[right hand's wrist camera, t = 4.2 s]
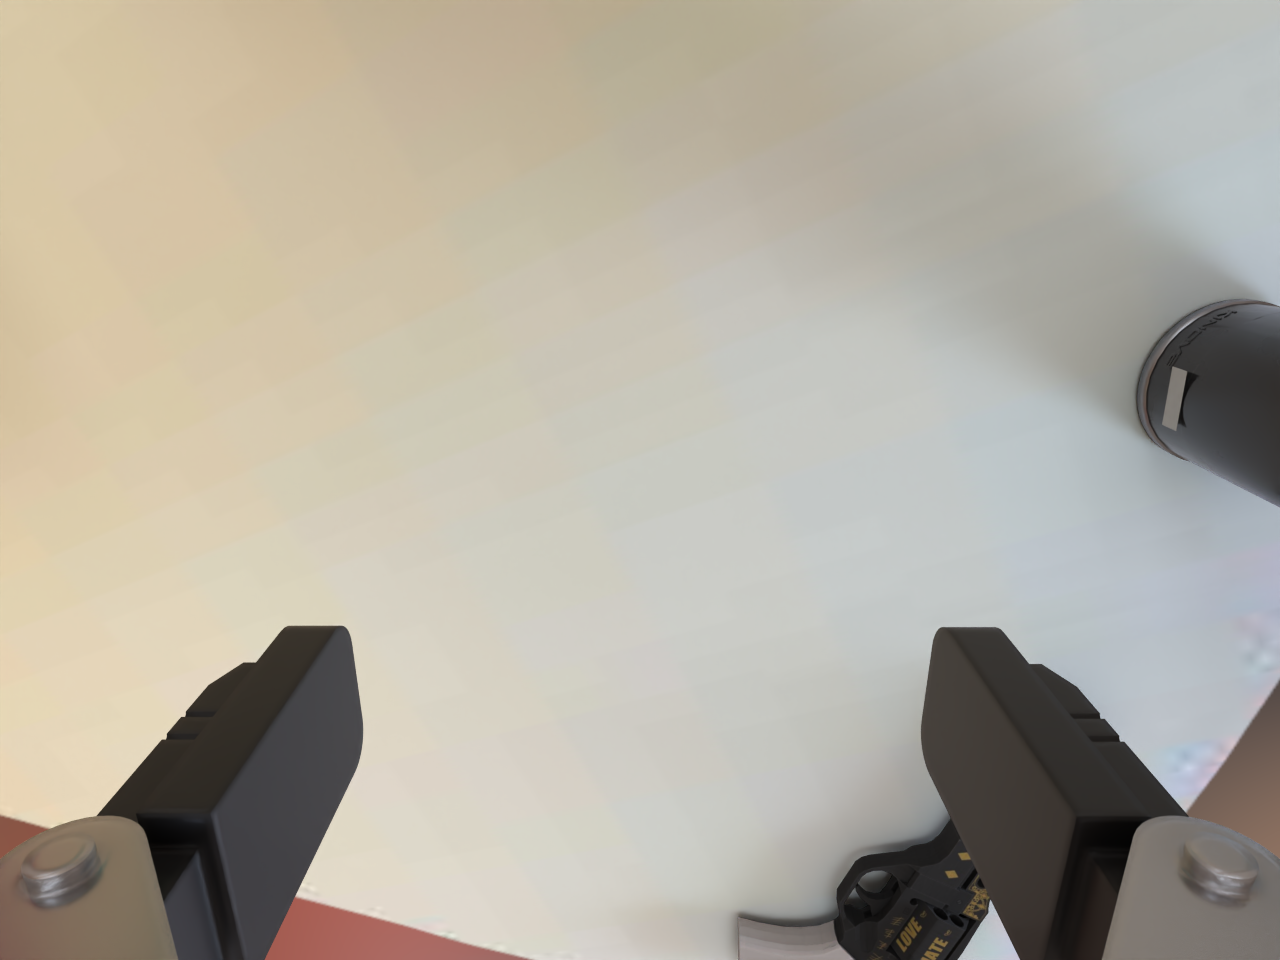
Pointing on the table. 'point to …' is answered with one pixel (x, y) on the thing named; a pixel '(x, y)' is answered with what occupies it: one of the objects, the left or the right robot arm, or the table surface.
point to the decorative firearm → (888, 911)
